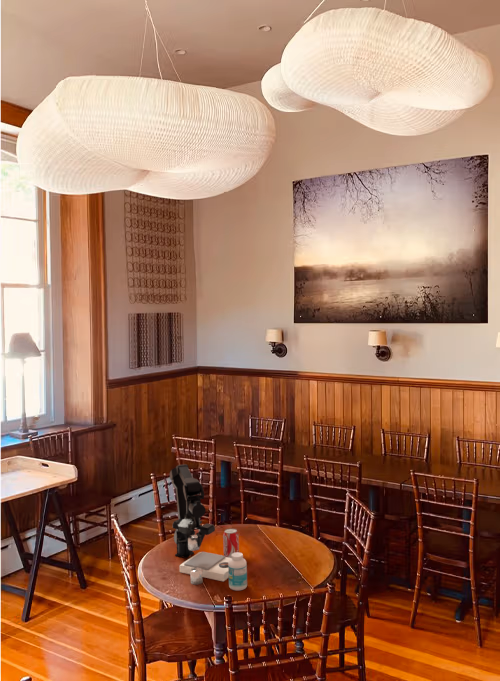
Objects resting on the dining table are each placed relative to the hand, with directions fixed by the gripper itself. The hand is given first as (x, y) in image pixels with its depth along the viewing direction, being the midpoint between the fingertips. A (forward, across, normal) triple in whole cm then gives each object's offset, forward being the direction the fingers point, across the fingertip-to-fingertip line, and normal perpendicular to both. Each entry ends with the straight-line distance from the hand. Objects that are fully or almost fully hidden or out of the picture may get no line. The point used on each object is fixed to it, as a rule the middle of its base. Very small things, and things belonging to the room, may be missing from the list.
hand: (194, 545), depth 264 cm
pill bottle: (+11, +25, -6) cm, 28 cm away
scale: (+11, +6, +4) cm, 13 cm away
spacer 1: (+1, 0, 0) cm, 1 cm away
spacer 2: (+11, +7, -9) cm, 16 cm away
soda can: (+11, +6, +20) cm, 24 cm away
